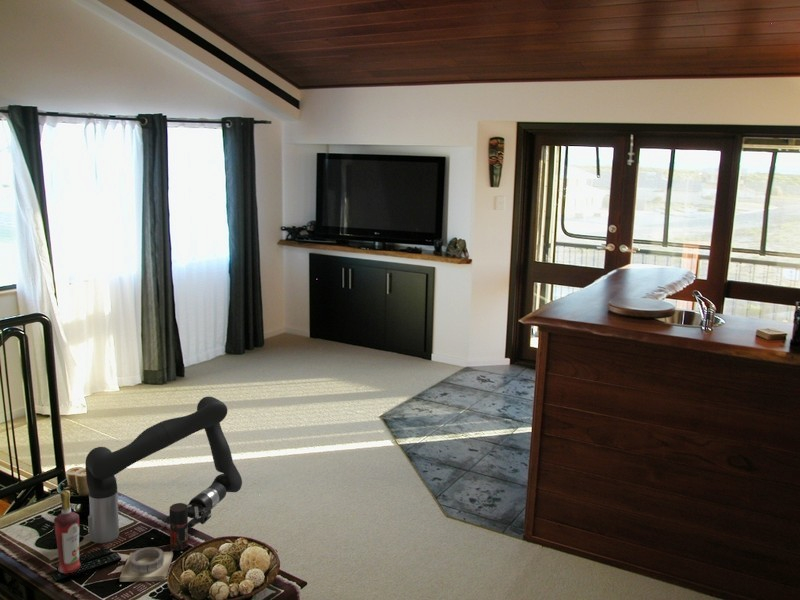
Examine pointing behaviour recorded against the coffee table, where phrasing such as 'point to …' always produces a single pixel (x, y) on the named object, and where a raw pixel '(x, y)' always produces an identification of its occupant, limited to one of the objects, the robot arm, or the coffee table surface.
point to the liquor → (67, 536)
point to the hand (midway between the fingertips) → (178, 523)
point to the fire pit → (147, 565)
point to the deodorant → (178, 526)
